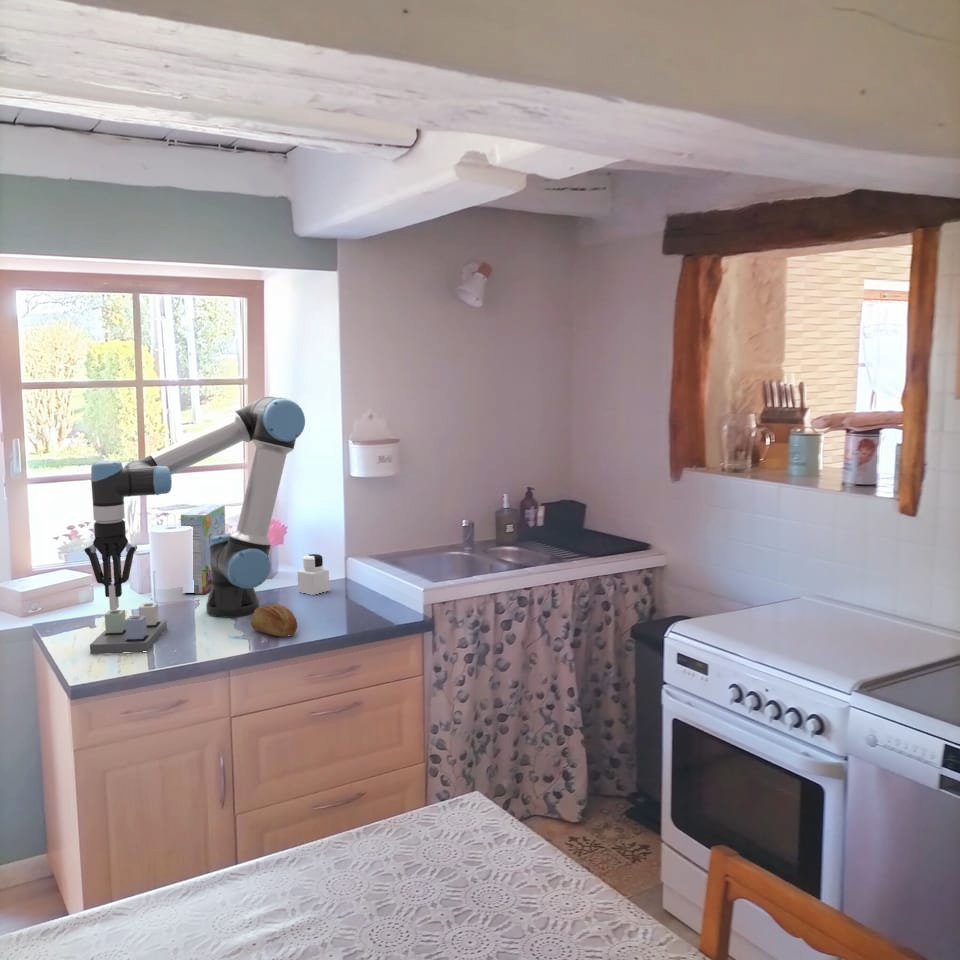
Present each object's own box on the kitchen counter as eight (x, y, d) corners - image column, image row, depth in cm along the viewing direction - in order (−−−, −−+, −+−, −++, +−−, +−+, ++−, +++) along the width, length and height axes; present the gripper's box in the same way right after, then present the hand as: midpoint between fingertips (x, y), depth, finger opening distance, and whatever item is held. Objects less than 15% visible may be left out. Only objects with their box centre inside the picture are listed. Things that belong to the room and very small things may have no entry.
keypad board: (166, 628, 250) (166, 620, 250) (147, 652, 231) (146, 642, 230) (114, 630, 249) (114, 621, 249) (90, 654, 229) (89, 644, 229)
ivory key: (158, 620, 248) (157, 602, 247) (154, 625, 244) (154, 606, 243) (143, 621, 247) (142, 602, 247) (139, 625, 243) (138, 606, 243)
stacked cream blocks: (314, 588, 294) (313, 551, 292) (329, 591, 290) (328, 554, 288) (297, 592, 288) (296, 555, 287) (313, 596, 284) (312, 558, 282)
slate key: (146, 634, 236) (145, 614, 235) (142, 638, 232) (141, 619, 231) (131, 634, 236) (130, 615, 235) (126, 639, 232) (125, 619, 231)
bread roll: (279, 643, 238) (278, 613, 237) (241, 633, 246) (240, 605, 245) (306, 634, 246) (305, 605, 245) (268, 624, 254) (267, 597, 253)
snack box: (208, 594, 286) (205, 514, 282) (181, 594, 286) (177, 514, 282) (228, 578, 307) (225, 503, 304) (203, 578, 308) (199, 503, 304)
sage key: (126, 628, 241) (124, 609, 240) (121, 632, 237) (120, 613, 237) (110, 628, 241) (109, 609, 240) (105, 633, 237) (104, 613, 236)
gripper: (139, 517, 239) (143, 604, 242) (88, 518, 238) (93, 605, 241) (131, 522, 232) (135, 612, 235) (78, 523, 231) (84, 613, 234)
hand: (114, 608), depth 238 cm, fingers closed
